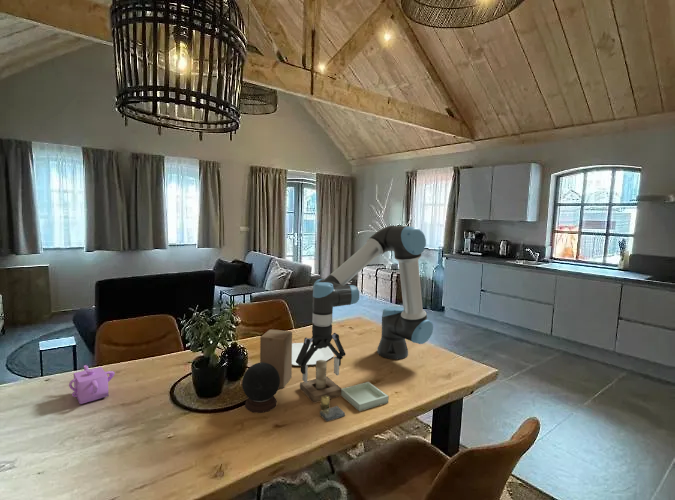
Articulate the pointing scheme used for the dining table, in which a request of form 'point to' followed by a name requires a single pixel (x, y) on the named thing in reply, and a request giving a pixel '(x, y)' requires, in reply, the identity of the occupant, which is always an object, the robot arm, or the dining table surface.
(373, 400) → the tray
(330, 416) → the steel plate
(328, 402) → the cylinder
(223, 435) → the dining table surface
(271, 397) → the black ball on stand
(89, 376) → the teapot
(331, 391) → the socket block
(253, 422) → the dining table surface
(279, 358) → the wooden block
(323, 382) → the dowel
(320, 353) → the plate
